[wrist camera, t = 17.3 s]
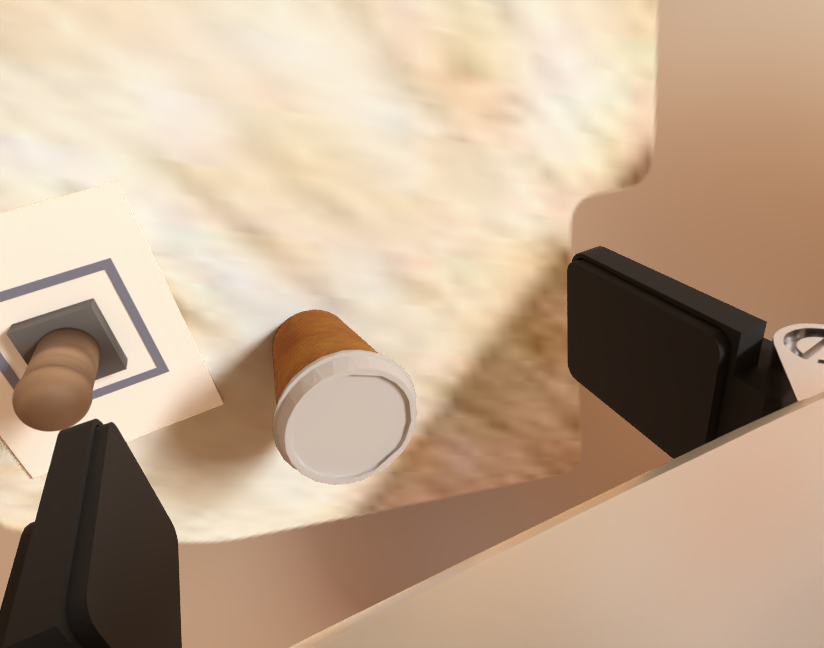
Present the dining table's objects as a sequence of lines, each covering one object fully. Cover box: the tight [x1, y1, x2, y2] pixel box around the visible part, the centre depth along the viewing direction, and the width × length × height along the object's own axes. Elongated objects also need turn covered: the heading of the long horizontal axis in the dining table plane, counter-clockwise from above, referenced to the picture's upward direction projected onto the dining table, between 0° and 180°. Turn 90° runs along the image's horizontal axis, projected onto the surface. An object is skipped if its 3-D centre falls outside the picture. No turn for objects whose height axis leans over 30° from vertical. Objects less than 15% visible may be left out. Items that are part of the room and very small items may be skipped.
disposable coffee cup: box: [272, 310, 417, 485], centre depth 39 cm, size 10×10×12 cm
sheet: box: [0, 181, 223, 478], centre depth 37 cm, size 18×14×1 cm
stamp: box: [7, 298, 128, 432], centre depth 33 cm, size 5×5×9 cm
